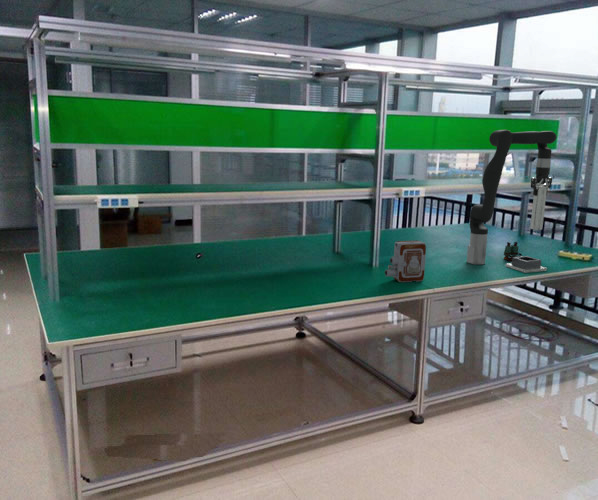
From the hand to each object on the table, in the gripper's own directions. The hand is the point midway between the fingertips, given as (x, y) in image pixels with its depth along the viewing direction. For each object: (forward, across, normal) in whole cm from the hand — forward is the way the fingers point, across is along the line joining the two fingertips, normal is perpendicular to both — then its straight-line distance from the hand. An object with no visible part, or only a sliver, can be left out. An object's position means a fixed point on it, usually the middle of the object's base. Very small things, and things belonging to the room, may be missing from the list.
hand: (539, 195), depth 322 cm
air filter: (+20, 0, 0) cm, 20 cm away
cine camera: (+38, -101, -20) cm, 110 cm away
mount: (+38, -23, -19) cm, 48 cm away
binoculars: (+38, -16, -1) cm, 41 cm away
